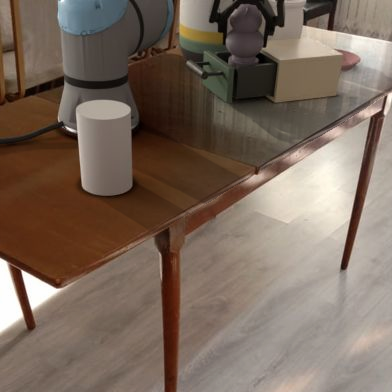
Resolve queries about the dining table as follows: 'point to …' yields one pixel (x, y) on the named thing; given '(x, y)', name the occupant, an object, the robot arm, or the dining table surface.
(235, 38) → the cat figurine
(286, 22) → the jar
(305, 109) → the dining table surface
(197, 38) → the vase
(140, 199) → the dining table surface
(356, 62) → the plate
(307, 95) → the cabinet
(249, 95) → the drawer
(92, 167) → the white cylinder
